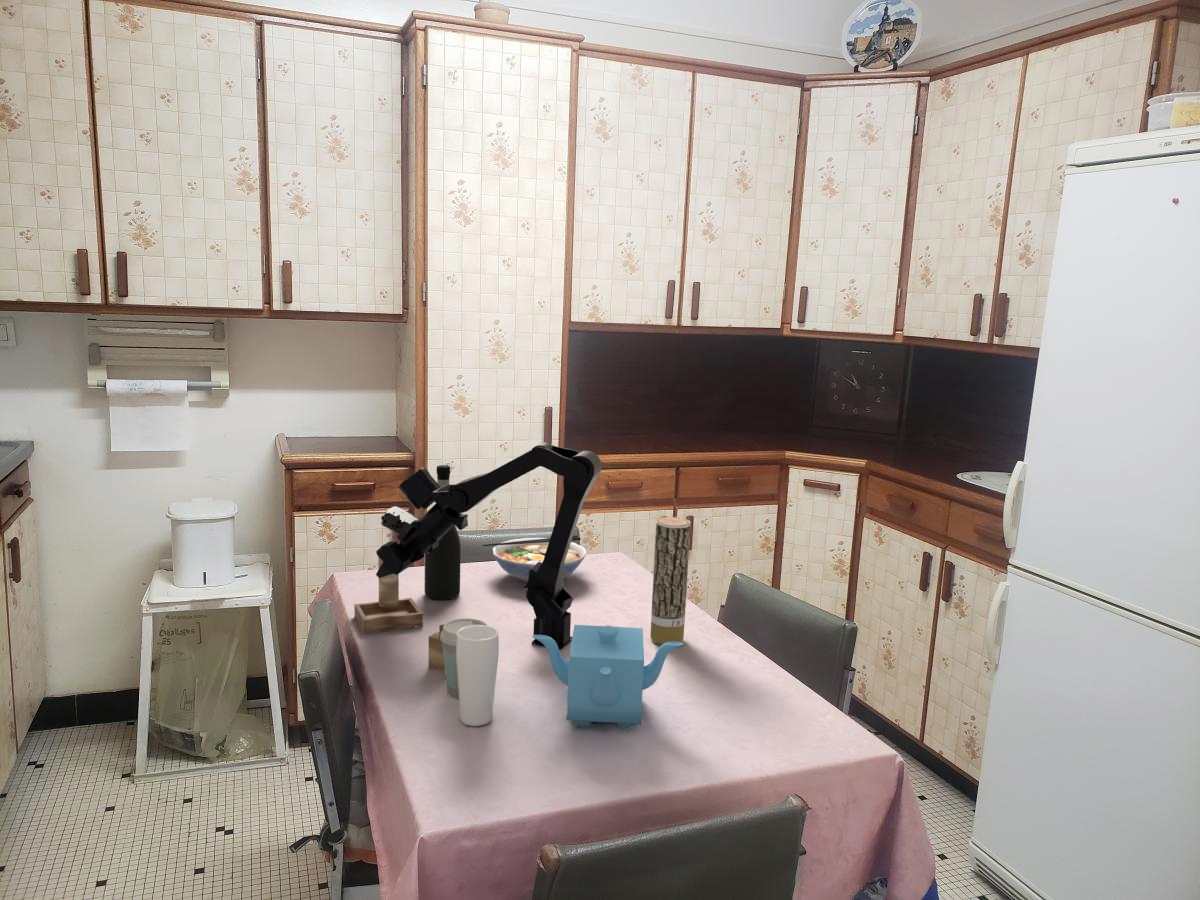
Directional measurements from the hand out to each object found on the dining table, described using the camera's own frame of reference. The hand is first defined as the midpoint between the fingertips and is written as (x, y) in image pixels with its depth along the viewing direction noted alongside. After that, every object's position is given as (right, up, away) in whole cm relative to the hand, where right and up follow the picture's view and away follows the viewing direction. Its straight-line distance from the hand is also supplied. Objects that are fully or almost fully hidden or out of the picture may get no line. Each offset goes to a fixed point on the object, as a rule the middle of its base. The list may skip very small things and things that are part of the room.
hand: (382, 572), depth 183 cm
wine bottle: (+9, -8, +19) cm, 22 cm away
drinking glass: (+25, -19, -39) cm, 50 cm away
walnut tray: (+1, -10, +2) cm, 10 cm away
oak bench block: (+19, -15, -21) cm, 31 cm away
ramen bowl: (+30, -6, +32) cm, 45 cm away
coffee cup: (+21, -17, -29) cm, 40 cm away
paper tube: (+59, -14, -2) cm, 60 cm away
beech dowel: (+1, -7, +1) cm, 7 cm away
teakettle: (+46, -19, -36) cm, 61 cm away
